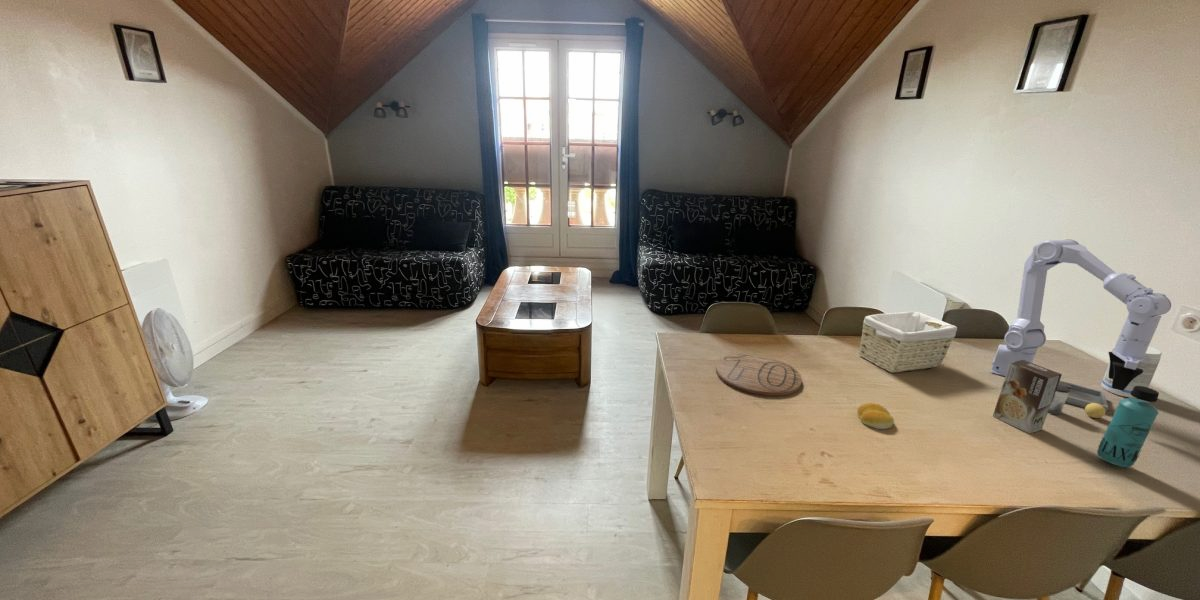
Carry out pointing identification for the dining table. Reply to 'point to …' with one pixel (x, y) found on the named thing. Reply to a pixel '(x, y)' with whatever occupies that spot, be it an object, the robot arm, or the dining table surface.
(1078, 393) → the dish
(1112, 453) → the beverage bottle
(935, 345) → the storage basket
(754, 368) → the trivet
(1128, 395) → the supplement tub
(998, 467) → the dining table surface
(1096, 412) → the ball
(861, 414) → the bread roll
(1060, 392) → the shaker cup
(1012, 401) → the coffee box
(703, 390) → the dining table surface
